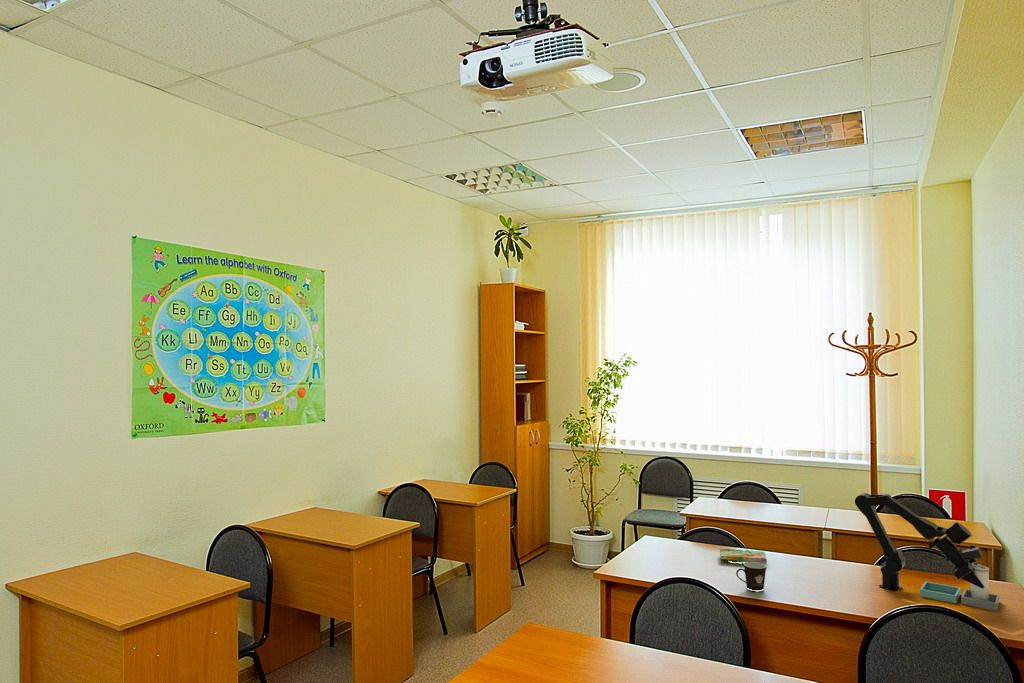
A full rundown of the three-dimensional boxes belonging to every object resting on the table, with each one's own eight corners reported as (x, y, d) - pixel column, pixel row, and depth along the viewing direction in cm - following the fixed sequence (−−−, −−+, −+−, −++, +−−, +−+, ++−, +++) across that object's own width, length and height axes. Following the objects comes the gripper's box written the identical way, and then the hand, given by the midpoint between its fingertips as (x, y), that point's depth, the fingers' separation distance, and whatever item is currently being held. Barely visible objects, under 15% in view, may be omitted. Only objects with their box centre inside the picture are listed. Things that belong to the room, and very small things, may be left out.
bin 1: (956, 605, 260) (956, 596, 260) (920, 598, 268) (920, 589, 268) (960, 596, 269) (960, 587, 269) (925, 590, 277) (925, 581, 277)
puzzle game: (766, 557, 307) (720, 553, 313) (766, 567, 307) (720, 564, 313) (764, 550, 319) (719, 546, 324) (764, 560, 318) (719, 556, 324)
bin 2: (996, 612, 252) (996, 603, 252) (961, 605, 259) (961, 596, 259) (999, 604, 261) (999, 595, 261) (965, 597, 268) (965, 588, 268)
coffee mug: (766, 587, 281) (765, 563, 281) (766, 594, 272) (766, 569, 273) (736, 584, 284) (736, 560, 285) (736, 591, 276) (736, 566, 276)
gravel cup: (984, 605, 256) (984, 568, 256) (967, 600, 261) (967, 564, 261) (992, 602, 259) (992, 565, 259) (976, 597, 264) (975, 561, 264)
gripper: (964, 544, 256) (1000, 580, 248) (970, 534, 270) (1004, 567, 263) (939, 561, 261) (974, 596, 253) (947, 550, 275) (980, 583, 268)
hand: (984, 585), depth 259 cm, fingers closed on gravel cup, 6 cm apart
